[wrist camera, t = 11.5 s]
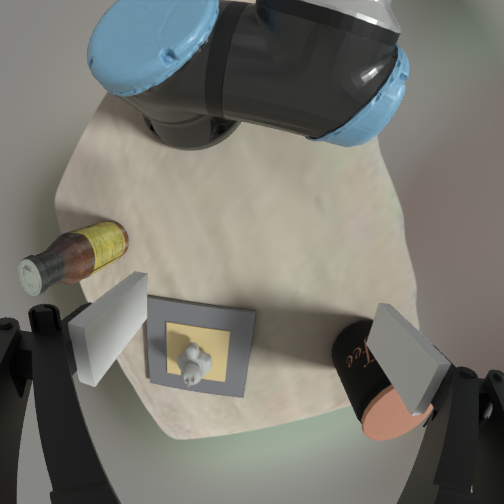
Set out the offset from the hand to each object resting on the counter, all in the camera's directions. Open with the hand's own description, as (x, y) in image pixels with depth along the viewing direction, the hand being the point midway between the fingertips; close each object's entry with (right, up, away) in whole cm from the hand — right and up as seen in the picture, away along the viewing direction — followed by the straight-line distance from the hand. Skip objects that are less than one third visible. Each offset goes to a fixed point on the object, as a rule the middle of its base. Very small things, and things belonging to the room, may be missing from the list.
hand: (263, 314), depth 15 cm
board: (-10, -13, +29) cm, 33 cm away
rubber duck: (-9, -13, +28) cm, 32 cm away
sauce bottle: (-22, +5, +26) cm, 35 cm away
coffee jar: (+18, -13, +29) cm, 36 cm away
